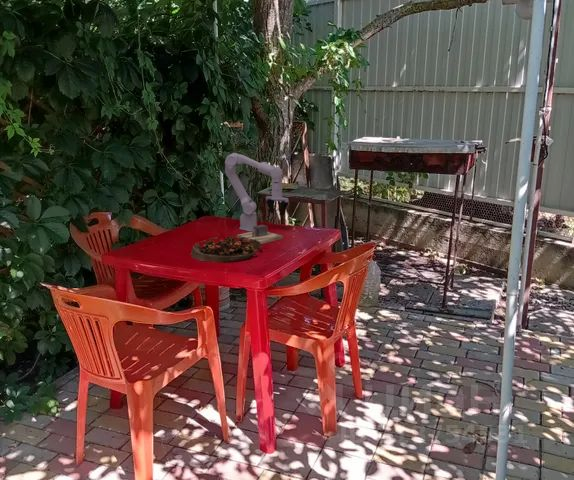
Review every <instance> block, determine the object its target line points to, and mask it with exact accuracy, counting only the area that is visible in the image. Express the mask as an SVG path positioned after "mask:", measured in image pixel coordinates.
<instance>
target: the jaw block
mask: <svg viewBox="0 0 574 480" xmlns="http://www.w3.org/2000/svg"><path fill="white" fill-rule="evenodd" d="M253 228H254V229H255V236H257V237H261V236H265V235H267V232H268V226H267V225H265V224H259V225H258V224H257V226H254V227H253Z"/></svg>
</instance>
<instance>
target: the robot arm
mask: <svg viewBox="0 0 574 480" xmlns="http://www.w3.org/2000/svg"><path fill="white" fill-rule="evenodd" d="M243 164H245V165H248V166H250V167H252V168H255V169H257V171H258V172H259V173H262V174H264V175H267V176H270V177H271V195H267V196H265V200H266V201H265V203H266V205H267V207H268V209H269V211H270V214H273V213H275V203H276V202H279V204H278V205H279V206H280V215H281V216H283V215H285V213H286V209H287V206H288V204H289V198H288V197H283V181H282V180H283V179H282V175H283V170H282V169H281V167H279V166H276V165H271V164H268V162H267V161H265V162H264V161H261V162H258V161H256V160H255V159H252V158H250V157H248V156H246V155H243V154H241V153H238V152H232V153H230V154H228V155H227V156H226V158H225V161H224V174H225V175H226V177H227V178H228V180H229V182H230V184H231V186H232V187H233V189H234V192H235V193H236V194H237V196H238V198H239V200H240V203H241V207H242V211H243V213H242V214H241V215H240V216H239V217H240V218H239V222H240V223H239V225H240V227H239V230H241V231H246V232H252V229H254V228H253V227H254V226H258V223H257V222H258V221H257V212H256V210H257V207H258V206H257V203H256V202H255V201H254V200H253V199H252V198H251V197H250V196H249V194H248V193H247V191H246V188H245V187H244V185H243V183H242V181H241V180H240V178H239V176H238V175H237V173H236V169H237V166H238V165H243Z"/></svg>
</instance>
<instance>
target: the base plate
mask: <svg viewBox="0 0 574 480" xmlns="http://www.w3.org/2000/svg"><path fill="white" fill-rule="evenodd" d="M241 237H245V239H243V241H248V242H249V240H250V239H253V240H255V239H256V241H259V242H260V243H261V245H262V244H267V243H271V242H275V241H279V240H283V239H284V235H281V234H278V233H274V232H270V231H267V235H265V236H261V237H257V236H255V229H252V231H248V232H245V233H241V234H236V239H239V238H241Z"/></svg>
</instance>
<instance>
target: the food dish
mask: <svg viewBox="0 0 574 480" xmlns="http://www.w3.org/2000/svg"><path fill="white" fill-rule="evenodd" d="M216 239H218V237H211V238H209V239H205V240H202V241H200V242H196V243H195V244H194V245H193V246H192V250H191V253H190V255H189V256H191V255H192V256H191V258H192V257H193V258H195V259H197V260H200V261H213V262H212V263H215V262H223V263H231V262H237V261H238V262H239V261H242V260H243V261H244V260H248V259H250V258H252V257H253V256H256V255H257V253H259V252H260V250H261V249H262V247H263V245H262V244H261V243H260V242H259V241H256V239H255V240H253V239H250V240H249V241H247V240H243V239H245V237H241V238H237V237H236V236H235V235H234V236H233V235H232V236H226V238H224V239H220V240H219V241H218V242H215V241H214V240H216ZM204 242H205V244H202V245H201V246H200V244H199V243H204ZM258 249H259V250H258ZM193 258H192V259H193ZM197 260H196V261H197ZM200 261H199V262H200ZM230 261H231V262H230Z"/></svg>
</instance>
